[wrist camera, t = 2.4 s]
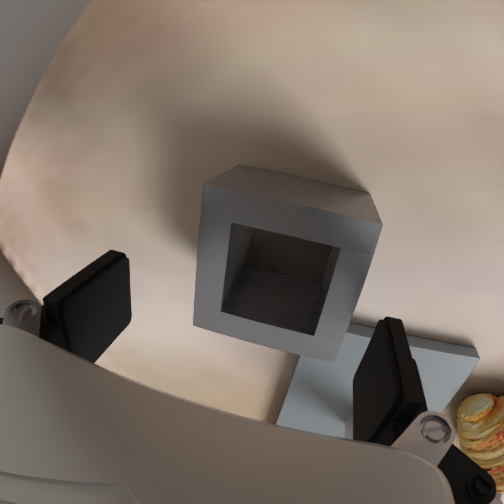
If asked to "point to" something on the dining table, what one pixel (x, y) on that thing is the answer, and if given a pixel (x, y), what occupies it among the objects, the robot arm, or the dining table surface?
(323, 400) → the keeper
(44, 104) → the dining table surface
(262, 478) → the robot arm
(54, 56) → the dining table surface
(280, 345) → the grey hollow block
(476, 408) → the croissant
